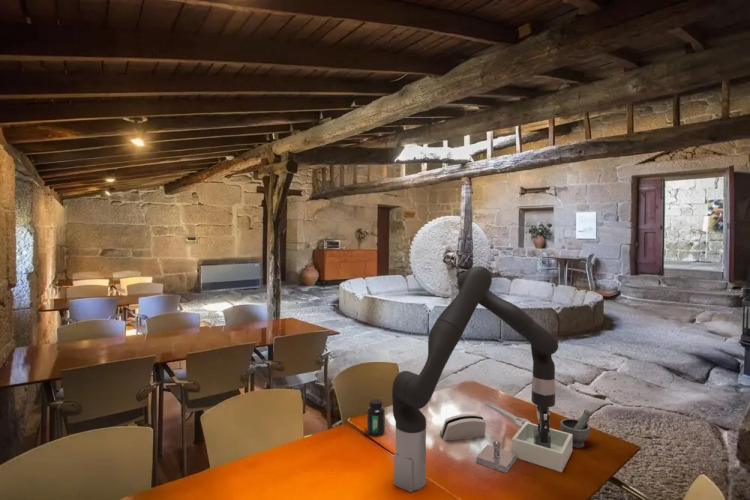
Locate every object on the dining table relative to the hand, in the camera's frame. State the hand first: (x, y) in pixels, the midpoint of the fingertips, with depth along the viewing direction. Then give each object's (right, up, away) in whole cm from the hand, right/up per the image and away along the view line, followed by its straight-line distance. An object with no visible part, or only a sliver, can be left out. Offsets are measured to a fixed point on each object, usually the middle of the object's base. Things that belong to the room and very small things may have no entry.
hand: (542, 436), depth 141 cm
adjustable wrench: (-2, -6, +30) cm, 31 cm away
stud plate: (-17, -6, -5) cm, 19 cm away
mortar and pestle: (+15, -6, +8) cm, 18 cm away
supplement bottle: (-57, -6, +15) cm, 60 cm away
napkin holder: (-25, -6, +12) cm, 28 cm away
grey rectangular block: (0, -5, 0) cm, 5 cm away
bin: (0, -6, 0) cm, 6 cm away
